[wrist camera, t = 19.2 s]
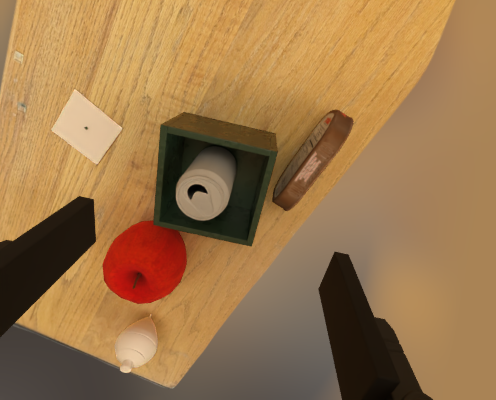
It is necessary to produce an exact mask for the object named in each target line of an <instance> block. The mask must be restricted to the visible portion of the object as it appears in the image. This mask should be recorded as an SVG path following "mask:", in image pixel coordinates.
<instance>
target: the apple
mask: <svg viewBox="0 0 496 400" xmlns="http://www.w3.org/2000/svg"><path fill="white" fill-rule="evenodd" d="M153 222H154V221H142V222H139V223H137V224H135V225H133V226H131V227H130V228H128V229H127V230H126V231H124V232H123V233H122V234H120V235H119V236H118V237H117V238H116V239H115V240H114V241H113V243H112V244H111V246H110V248H109V250H108V252H107V254H106V257H105V259H104V262H103V274H104V281H105V283H106V284H107V286H108V287H109V289H110V290H111V291H113V292H114V293H115V294H117V295H118V296H119V297H121V298H123V299H126V300H129V301H131V302H134V303H137V304H143V303H151V302H154V301H156V300H159V299H161V298H163V297H165V296H166V295H168V294H170V293H171V292H172V291H173V290H174V289H175V288H176V286H177V285H178V284H179V283H180V281H181V279H182V276H183V273H184V271H185V268H186V264H187V255H186V249H185V244H184V241H183V239H182V237H181V235H180V234H179V232H178V231H177V230H174V229H169V228H165V227H160V226H156V225H153Z"/></svg>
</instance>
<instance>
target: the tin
mask: <svg viewBox="0 0 496 400" xmlns="http://www.w3.org/2000/svg"><path fill="white" fill-rule="evenodd" d="M352 126H353V119H352V118H351V117H348V116H347V115H345V114H344V113H342V112H341V111H339V110H332V111H330V112H329V113H328V114H326V115H325V116H324V117H323V118H322V120H321V121H320V122H319V123H318V124H317V126H316V127H315V128H314V130H313V131H312V133H311V134H310V135H309V137H308V138H307V139H306V141H305V142H304V144H303V145H302V146H301V148H300V149H299V150H298V152H297V153H296V155H295V156H294V157H293V159H292V160H291V162H290V163H289V165H288V166H287V168H286V169H285V171H284V172H283V174H282V175H281V177H280V179H279V180H278V182H277V184H276V186H275V188H274V192H273V199H272V201H273V202H274V203H275V204H277V205H278V206H280V207H282V208H283V209H284V210H285V211H288V210H290V209H292V208H293V207H294V206H295V205H296V204H297V203H298V202H299V201H300V200H301V199H302V197H303V196H304V195H305V193H306V192H307V191H308V190H309V188H310V187H311V186H312V185H313V183H314V182H315V181H316V179H317V178H318V177H319V176H320V174H321V173H322V172H323V170H324V169H325V168H326V167H327V165H328V164H329V163H330V162H331V160H332V159H333V158H334V157H335V155H336V154H337V153H338V151H339V150H340V149H341V147H342V146H343V144H344V143H345V141H346V139H347V137H348V136H349V134H350V132H351V129H352Z"/></svg>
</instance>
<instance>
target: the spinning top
mask: <svg viewBox="0 0 496 400" xmlns="http://www.w3.org/2000/svg"><path fill="white" fill-rule="evenodd" d="M151 316H152V314H150V316H149V317H146V318H143V319H140V320H138V321H136V322H134V323H132V324H131V325H129V326H128V327H126V328H125V329H124V330H123V331H122V332H121V333H120V334H119V336H118V337H117V339H116V342H115V353H116V357H117V360H118V361H119V362H120V363H121V364H122V365H121V367H120V370H121V371H122V372H124V373H129V372H130V371H131V369H132V368H136V367H140V366H142V365H144V364H145V363H147V362H148V361H150V360H151V359H152V358H153V356H154V355H155V353H156V351H157V347H158V337H157V331H156V328H155V325H154V322H153V320H152V318H151Z"/></svg>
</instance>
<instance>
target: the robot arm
mask: <svg viewBox="0 0 496 400" xmlns="http://www.w3.org/2000/svg"><path fill="white" fill-rule="evenodd" d="M95 242H96V234H95V216H94V199H90V198H85V197H80V196H79V197H77V198H76V199H74V200H73V201H71V202H70V203H69V204H67V205H66V206H64V207H63V208H61V209H60V210H58V211H57V212H55V213H54V214H52V215H51V216H49V217H48V218H46V219H45V220H43V221H42V222H40V223H39V224H38V225H36V226H35V227H33V228H32V229H30V230H29V231H27V232H26V233H24V234H23V235H21V236H20V237H18V238H17V239H15V240H14V241H9V240H5V241H3V242H0V337H1V336H2V335H3V334H4V333H5V332H6V331H7V330H8V329H9V328H10V327H11V326H12V325H13V324H14V323H15V322H16V321H17V320H18V319H19V318H20V317H21V316H22V315H23V314H24V313H25V312H26V311H27V310H28V309H29V308H30V307H31V306H32V305H33V304H34V303H35V302H36V301H37V300H38V299H39V298H40V297H41V296H42V295H43V294H44V293H45V292H46V291H47V290H48V289H49V288H50V287H51V286H52V285H53V284H54V283H55V282H56V281H57V280H58V279H59V278H60V277H61V276H62V275H63V274H64V273H65V272H66V271H67V270H68V269H69V268H70V267H71V266H72V265H73V264H74V263H75V262H76V261H77V260H78V259H79V258H80V257H81V256H82V255H83V254H84V253H85V252H86V251H87V250H88V249H89V248H90V247H91V246H92V245H93V244H94V243H95ZM319 294H320V298H321V303H322V307H323V312H324V317H325V322H326V326H327V331H328V336H329V340H330V345H331V349H332V354H333V359H334V364H335V369H336V373H337V378H338V382H339V387H340V392H341V396H342V400H433V399H432V398H431V397H429V396H427V395H426V394H424V393H423V392H422V390H421V388H420V386H419V383H418V381H417V379H416V377H415V375H414V373H413V370H412V368H411V366H410V364H409V362H408V360H407V358H406V356H405V354H404V353H403V352H404V351H403V349H402V347H401V345H400V344H399V340H398V338H397V336H396V334H395V332H394V330H393V329H392V328H391V326H390V325H389V324H388V323H387V322H386V320H385V319H381V318H376V317H374V315H373V313H372V311H371V308H370V306H369V303H368V301H367V298H366V296H365V294H364V291H363V289H362V286H361V284H360V281H359V279H358V277H357V274H356V272H355V269H354V267H353V264H352V262H351V260H350V257H349V255H348V254H343V253H338V252H334V255H333V257H332V259H331V261H330V264H329V266H328V268H327V271H326V273H325V275H324V278H323V280H322V282H321V284H320V287H319Z"/></svg>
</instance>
